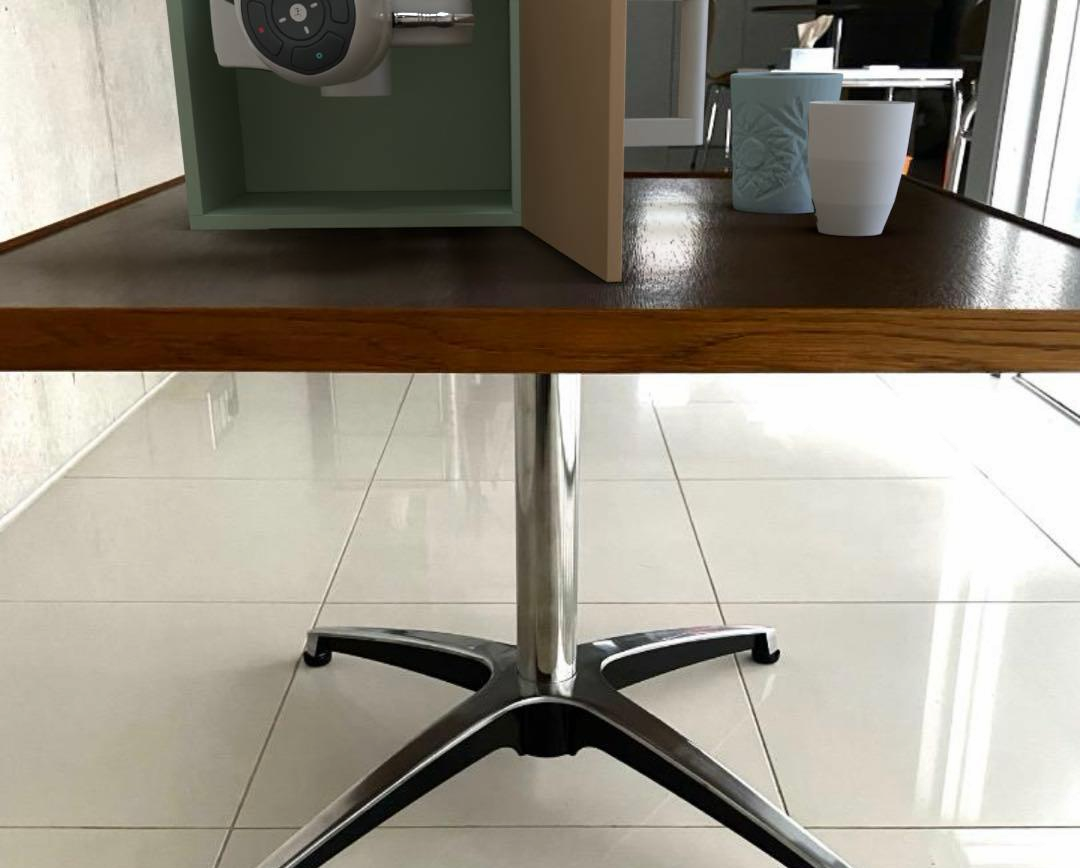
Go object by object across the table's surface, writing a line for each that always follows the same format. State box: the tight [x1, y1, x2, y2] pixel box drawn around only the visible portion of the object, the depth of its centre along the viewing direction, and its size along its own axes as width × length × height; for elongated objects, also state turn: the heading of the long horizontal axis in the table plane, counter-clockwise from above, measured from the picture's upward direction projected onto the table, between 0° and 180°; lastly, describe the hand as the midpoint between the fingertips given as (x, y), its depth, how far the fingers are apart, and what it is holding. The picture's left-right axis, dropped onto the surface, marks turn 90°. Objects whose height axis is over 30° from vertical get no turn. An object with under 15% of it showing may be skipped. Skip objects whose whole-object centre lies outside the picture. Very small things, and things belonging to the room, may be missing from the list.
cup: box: [808, 100, 916, 237], centre depth 98 cm, size 8×8×10 cm
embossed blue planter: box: [729, 71, 844, 214], centre depth 113 cm, size 10×10×12 cm
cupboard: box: [165, 0, 522, 231], centre depth 108 cm, size 20×28×26 cm
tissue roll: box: [320, 48, 393, 97], centre depth 101 cm, size 6×6×10 cm
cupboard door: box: [519, 0, 710, 283], centre depth 86 cm, size 7×28×26 cm, turn 12°
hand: (353, 25), depth 102 cm, fingers closed on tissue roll, 6 cm apart
